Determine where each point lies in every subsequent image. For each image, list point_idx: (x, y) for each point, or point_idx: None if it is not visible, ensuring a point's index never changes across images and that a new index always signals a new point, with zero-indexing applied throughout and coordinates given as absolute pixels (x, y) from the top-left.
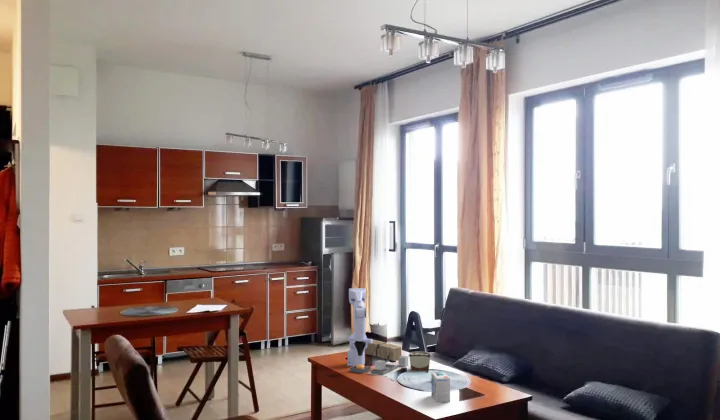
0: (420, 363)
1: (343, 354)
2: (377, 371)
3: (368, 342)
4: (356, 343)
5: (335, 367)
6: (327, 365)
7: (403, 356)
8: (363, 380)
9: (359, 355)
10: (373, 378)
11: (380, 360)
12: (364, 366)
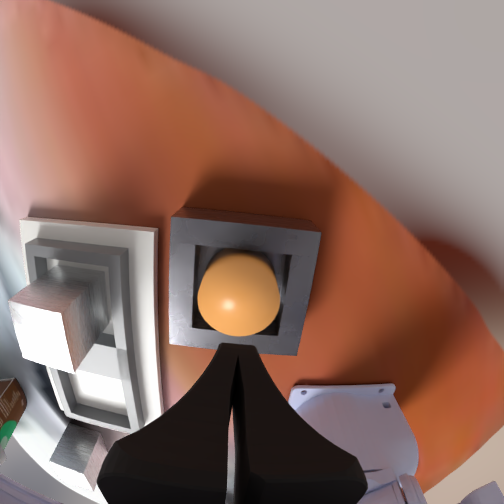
0: None
1: (427, 480)
2: (63, 248)
3: (10, 488)
4: (281, 483)
5: (449, 323)
6: (488, 336)
7: (75, 481)
8: (120, 82)
9: (233, 344)
10: (78, 170)
11: (56, 364)
12: (216, 330)
